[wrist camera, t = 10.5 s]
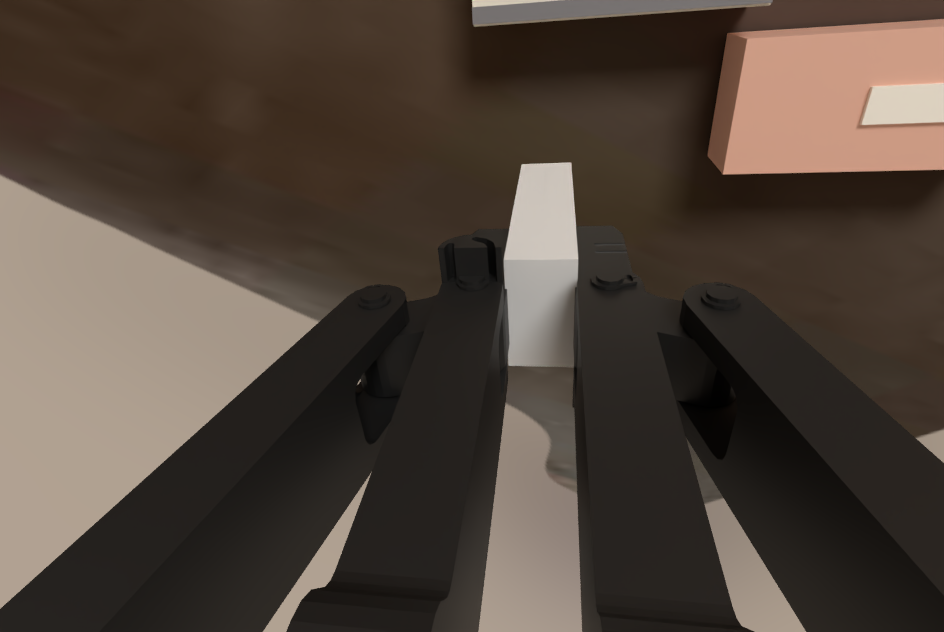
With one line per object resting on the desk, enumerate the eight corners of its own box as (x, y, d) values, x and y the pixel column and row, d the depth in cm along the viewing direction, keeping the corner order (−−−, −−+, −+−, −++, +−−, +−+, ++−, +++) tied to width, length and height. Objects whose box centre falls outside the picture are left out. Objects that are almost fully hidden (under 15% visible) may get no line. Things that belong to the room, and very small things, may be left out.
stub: (707, 155, 29) (723, 175, 26) (727, 33, 26) (748, 39, 23) (977, 148, 27) (1030, 169, 24) (1034, 13, 24) (1104, 16, 21)
